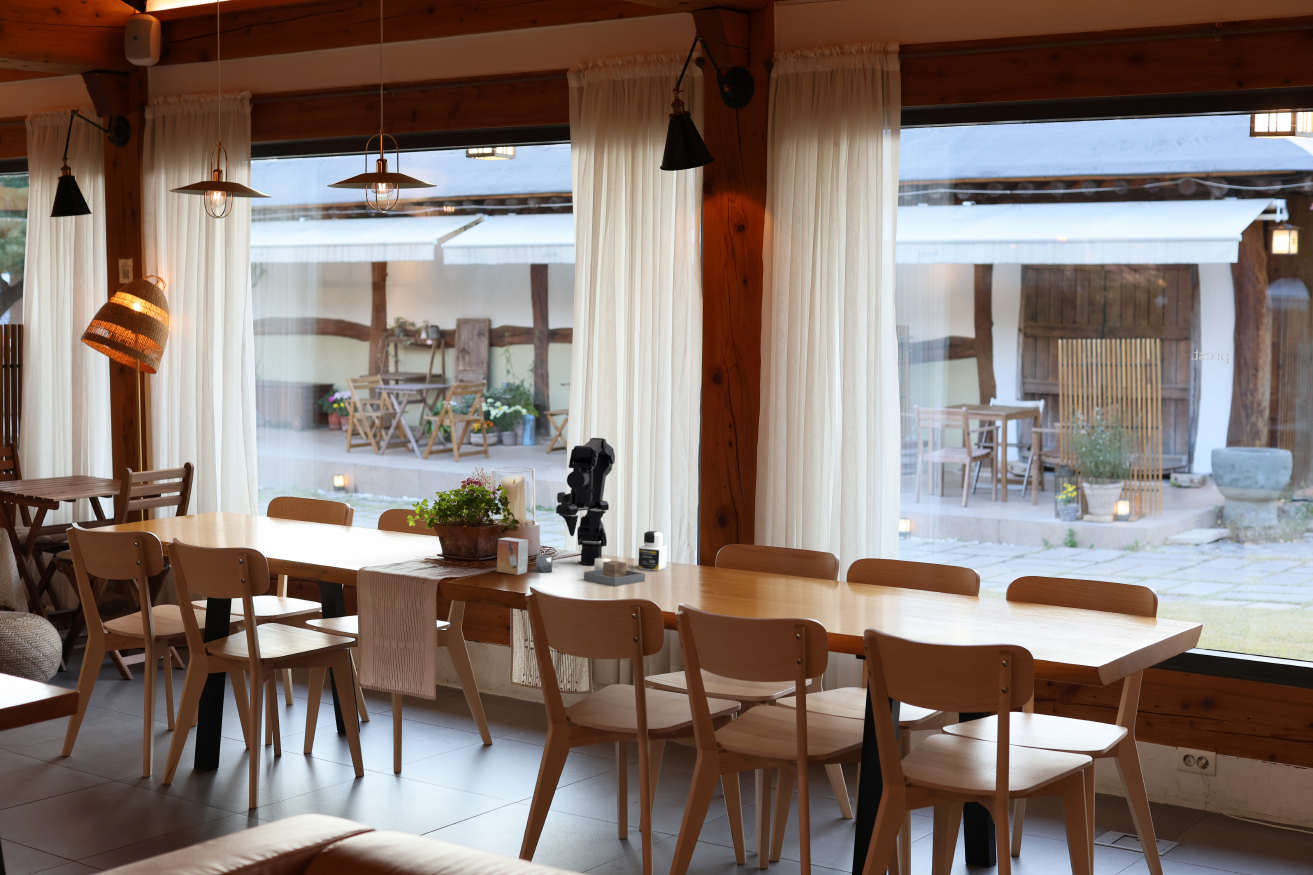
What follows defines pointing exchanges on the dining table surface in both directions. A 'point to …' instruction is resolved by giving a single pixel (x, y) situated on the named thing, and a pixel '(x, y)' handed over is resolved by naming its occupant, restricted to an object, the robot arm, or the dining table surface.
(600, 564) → the ivory round canister
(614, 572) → the walnut block
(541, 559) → the slate cylinder
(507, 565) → the small box
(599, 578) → the gray tray
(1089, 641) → the dining table surface
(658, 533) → the medicine bottle
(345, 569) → the dining table surface
